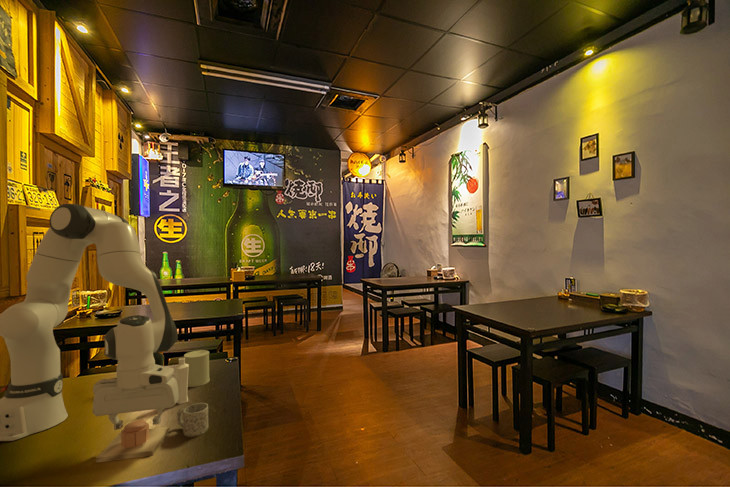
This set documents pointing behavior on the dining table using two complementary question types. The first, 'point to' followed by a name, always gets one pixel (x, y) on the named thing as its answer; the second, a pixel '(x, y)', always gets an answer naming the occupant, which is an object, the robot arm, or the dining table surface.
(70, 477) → the dining table surface
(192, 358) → the can
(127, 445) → the cap
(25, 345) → the robot arm
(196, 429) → the mug
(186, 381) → the perfume bottle
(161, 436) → the board
